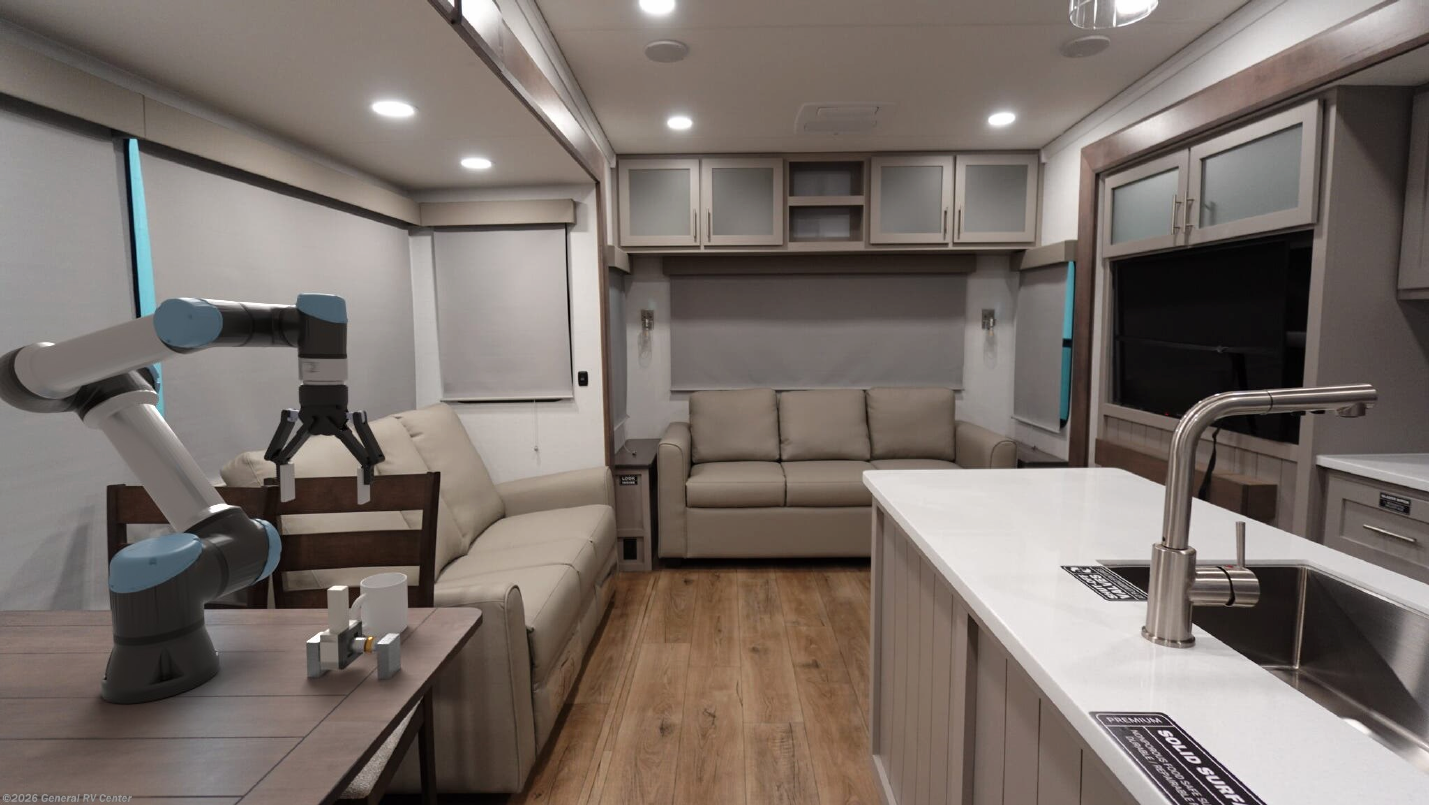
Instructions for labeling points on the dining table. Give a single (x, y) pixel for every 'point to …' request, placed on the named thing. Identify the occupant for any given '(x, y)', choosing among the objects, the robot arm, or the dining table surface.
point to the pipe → (382, 646)
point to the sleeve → (338, 631)
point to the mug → (382, 605)
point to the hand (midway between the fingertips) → (326, 501)
